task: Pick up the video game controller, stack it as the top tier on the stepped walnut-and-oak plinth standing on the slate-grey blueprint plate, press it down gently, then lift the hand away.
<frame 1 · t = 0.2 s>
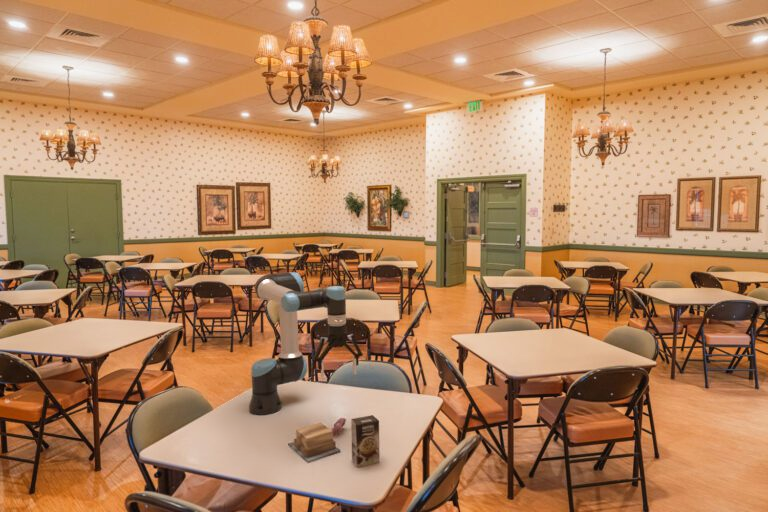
hand: (338, 375, 202), 26 cm above the table, tool pointing down, fingers open, 13 cm apart
coffee box: (365, 461, 184), on the table
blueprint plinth: (313, 448, 195), on the table
video game controller: (337, 433, 209), on the table
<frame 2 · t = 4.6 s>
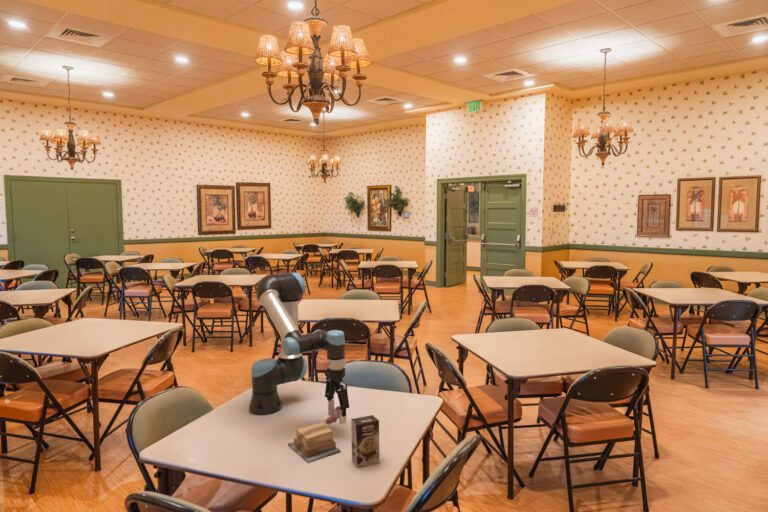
hand: (337, 418, 209), 6 cm above the table, tool pointing down, fingers closed on video game controller, 9 cm apart
video game controller: (335, 420, 208), point 5 cm above the table, touching gripper
everything else where it was.
when the fingers open (10 cm above the table, at t = 8.9 s): video game controller drops 2 cm, resting on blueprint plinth.
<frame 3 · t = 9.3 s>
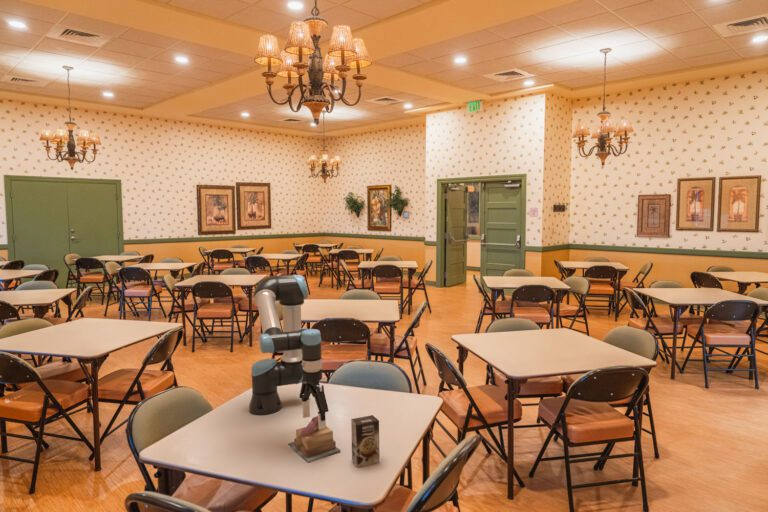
hand: (314, 422, 193), 11 cm above the table, tool pointing down, fingers open, 13 cm apart
video game controller: (312, 431, 192), point 8 cm above the table, touching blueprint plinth
everything else where it was.
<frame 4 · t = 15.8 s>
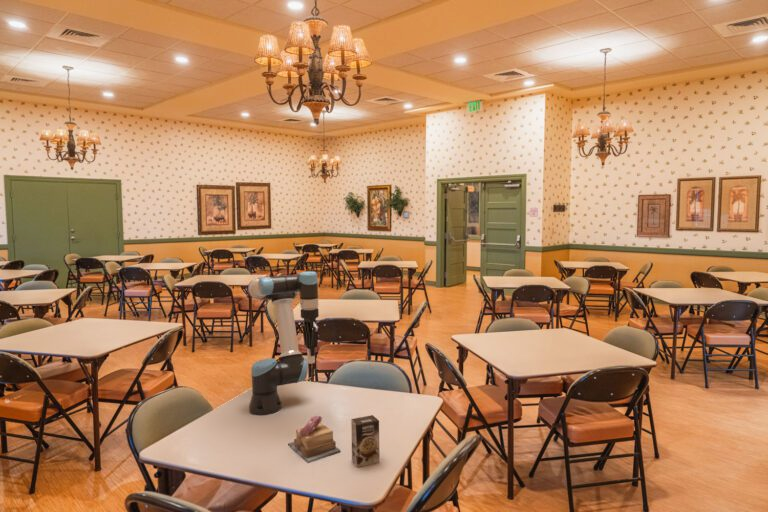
hand: (311, 362, 210), 29 cm above the table, tool pointing down, fingers closed
nothing on the table moved.
at the end: video game controller inside the target area on the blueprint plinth (1.1 cm from its centre), point 7.6 cm above the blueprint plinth's base; video game controller tilted 0°; the gripper is holding nothing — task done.
